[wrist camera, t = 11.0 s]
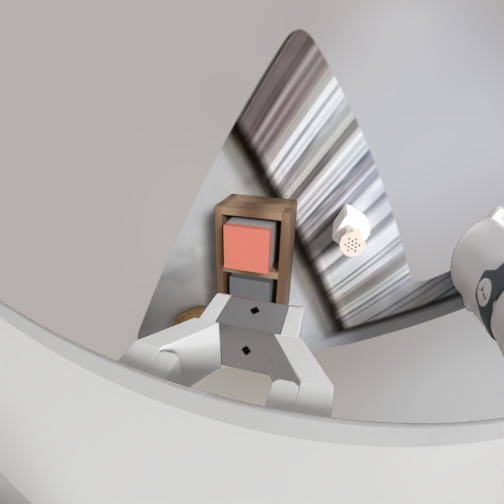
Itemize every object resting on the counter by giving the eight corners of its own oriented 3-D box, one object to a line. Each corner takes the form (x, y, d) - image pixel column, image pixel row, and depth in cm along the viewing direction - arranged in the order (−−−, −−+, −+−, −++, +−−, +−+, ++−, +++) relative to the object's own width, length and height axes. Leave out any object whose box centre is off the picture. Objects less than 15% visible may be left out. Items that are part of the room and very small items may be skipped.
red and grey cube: (279, 216, 41) (269, 230, 36) (277, 255, 44) (267, 274, 38) (238, 211, 43) (223, 225, 37) (238, 249, 45) (224, 267, 40)
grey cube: (278, 264, 47) (270, 283, 41) (276, 296, 49) (268, 317, 44) (241, 258, 48) (229, 276, 43) (241, 290, 51) (230, 310, 45)
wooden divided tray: (297, 200, 43) (289, 214, 36) (288, 303, 50) (280, 328, 44) (232, 194, 45) (214, 206, 39) (232, 293, 53) (218, 316, 47)
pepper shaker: (345, 201, 41) (347, 222, 32) (368, 216, 41) (375, 240, 32) (331, 223, 43) (329, 249, 34) (353, 237, 43) (356, 266, 34)
